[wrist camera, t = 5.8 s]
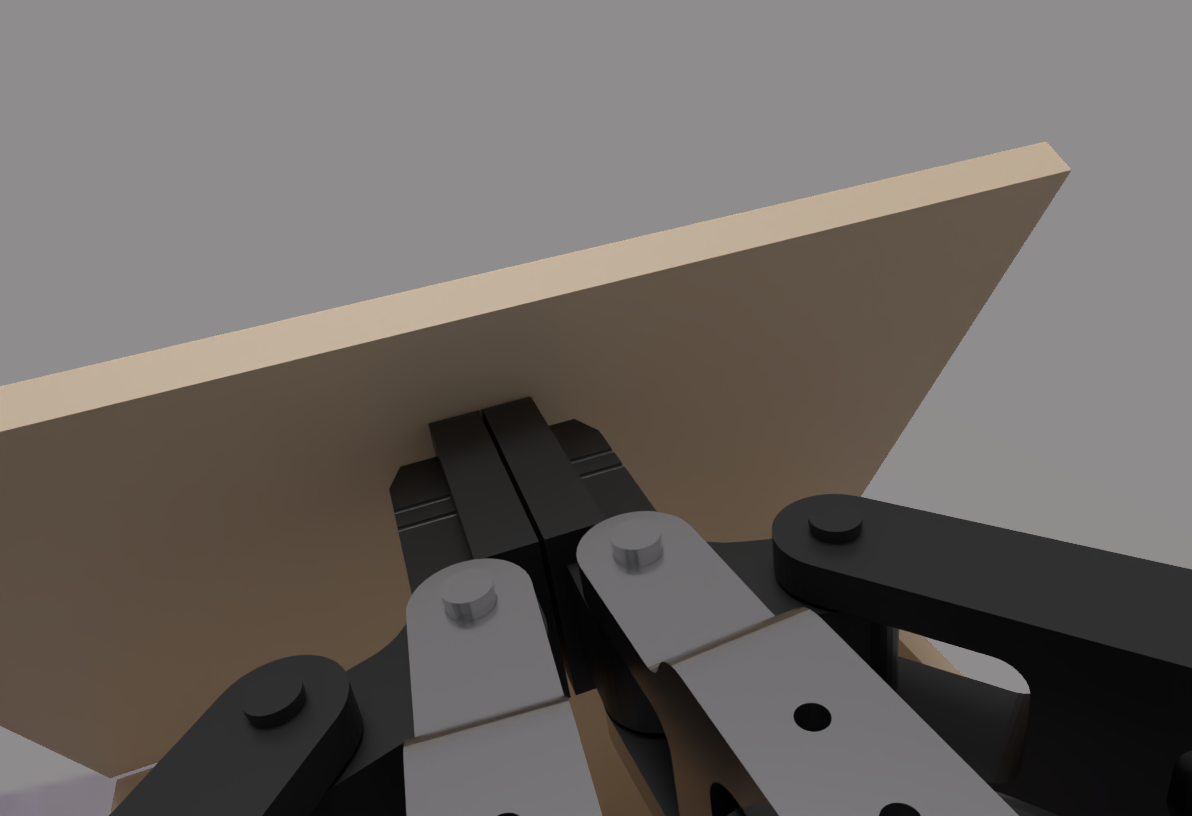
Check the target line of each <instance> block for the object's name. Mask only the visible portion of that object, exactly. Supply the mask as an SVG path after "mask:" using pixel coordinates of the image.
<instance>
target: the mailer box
mask: <svg viewBox="0 0 1192 816" xmlns="http://www.w3.org/2000/svg"><path fill="white" fill-rule="evenodd" d="M898 656H900V657H903V658H906V659H909V660H912V661H916V662H919V663H922V664H925V665H929V666H932V667H935V668H938V669H941V670H945V671H948V672H951V673H954V674H957V675H961V676H963V675H962V674H961V673H960V672H959V671H958V670H957V669H956V668H955V667H954V666H953V665H952V664H951V663H950V662H949V661H948V660H947V659H946V658H945V657H944V656H943V655H942V654H941V653H940V652H939V651H938V650H937V649H936V648H935V647H934V646H933V645H932V644H931V643H930V642H929V641H928V640H927V639H926V638H925V637H924V636H921V635H917V634H914V633H911V632H907V631H904V630H900V629H899V653H898ZM565 672H566V671H565ZM566 677H567V681H568V686H569V691H570V696H571V698H568V699H569V702H570V705H571V709H572V712H573V716H574V719H575V722H576V726H577V729H578V733H579V736H580V740H581V743H582V747H583V750H584V754H585V757H586V761H587V764H588V768H589V771H590V775H591V778H592V782H593V785H594V788H595V792H596V795H597V799H598V802H599V806H600V809H601V813H602V816H652V814H651V812H650V811H649V809H648V807H647V805H646V803H645V801H644V800H643V798H642V796H641V794H640V792H639V791H638V789H637V787H636V785H635V783H634V782H633V780H632V778H631V776H630V774H629V773H628V771H627V769H626V767H625V765H624V764H623V762H622V760H621V758H620V756H619V754H618V753H617V751H616V749H615V747H614V745H613V744H612V741H611V739H610V736H609V731H608V725H607V720H606V714H605V709H604V704H603V702H602V700H601V697H600V695H599V693H598V691H597V688H596V689H593V690H590V691H588V692H585V693H582V694H579V695H575V692H574V690H573V688H572V685H571V683H570V680H569V678H568V676H567V673H566ZM152 769H153V768H151V769H148V770H145V771H142V772H139V773H136V774H133V775H130V776H127V777H124V778H121V779H118V780H117V782H116V787H115V792H114V798H113V803H112V808H111V813H112V812H113V811H114V810H115V809H116V808H117V807H118V805H119V804H120V803H121V802H122V801H123V800H124V799H125V798H126V797H127V796H128V795H129V794H130V792H131V791H132V790H133V789H134V788H135V787H136V786H137V785H138V784H139V783H140V782H141V781H142V780H143V778H144V777H145V776H146V775H147V774H148V773H149V772H150V771H151V770H152ZM111 813H110V814H111Z"/></svg>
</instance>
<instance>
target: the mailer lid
mask: <svg viewBox="0 0 1192 816" xmlns="http://www.w3.org/2000/svg"><path fill="white" fill-rule="evenodd" d="M1070 172H1071V169H1070V168H1069V167H1068V165H1067V164H1066V163H1065V162H1064V161H1063V160H1062V159H1061V158H1060V156H1059V155H1058V154H1057V153H1056V152H1055V151H1054V150H1053V149H1052V148H1051V146H1050V145H1049V144H1048V143H1047V142H1042V143H1038V144H1033V145H1029V146H1025V147H1020V148H1016V149H1012V150H1008V151H1004V152H999V153H995V154H991V155H987V156H982V157H978V158H974V159H969V160H965V161H961V162H957V163H952V164H948V165H944V166H939V167H935V168H931V169H927V170H922V171H918V172H914V173H909V174H905V175H901V176H897V177H892V178H888V179H884V180H880V181H876V182H871V183H867V184H862V185H858V186H854V187H850V188H846V189H841V190H837V191H833V192H828V193H825V194H820V195H816V196H811V197H807V198H803V199H799V200H794V201H790V202H786V203H781V204H777V205H773V206H769V207H765V208H760V209H756V210H752V211H747V212H743V213H739V214H735V215H730V216H726V217H722V218H718V219H714V220H709V221H704V222H700V223H696V224H692V225H687V226H683V227H679V228H675V229H671V230H666V231H662V232H658V233H653V234H649V235H645V236H640V237H636V238H632V239H628V240H624V241H619V242H615V243H611V244H606V245H602V246H598V247H593V248H590V249H585V250H581V251H576V252H572V253H568V254H564V255H559V256H555V257H551V258H546V259H542V260H538V261H534V262H529V263H525V264H521V265H517V266H513V267H508V268H504V269H499V270H495V271H491V272H487V273H483V274H478V275H474V276H470V277H466V278H461V279H457V280H453V281H448V282H444V283H440V284H436V285H432V286H427V287H423V288H418V289H414V290H410V291H406V292H401V293H397V294H393V295H388V296H384V297H380V298H376V299H371V300H367V301H363V302H359V303H354V304H350V305H346V306H342V307H337V308H333V309H329V310H324V311H320V312H316V313H312V314H308V315H303V316H299V317H295V318H290V319H286V320H282V321H277V322H273V323H269V324H265V325H261V326H256V327H252V328H248V329H243V330H239V331H235V332H230V333H226V334H222V335H218V336H213V337H209V338H205V339H201V340H196V341H192V342H188V343H184V344H179V345H175V346H171V347H166V348H162V349H158V350H154V351H149V352H145V353H141V354H137V355H132V356H128V357H124V358H119V359H115V360H111V361H107V362H103V363H98V364H94V365H90V366H85V367H81V368H77V369H73V370H68V371H64V372H60V373H56V374H51V375H47V376H43V377H38V378H34V379H30V380H26V381H22V382H17V383H13V384H9V385H4V386H0V726H2V727H4V728H6V729H8V730H10V731H12V732H15V733H17V734H19V735H21V736H23V737H25V738H27V739H29V740H31V741H33V742H35V743H38V744H40V745H42V746H44V747H46V748H48V749H50V750H52V751H54V752H56V753H59V754H61V755H63V756H65V757H67V758H69V759H71V760H73V761H75V762H77V763H80V764H82V765H84V766H86V767H88V768H90V769H92V770H94V771H96V772H98V773H100V774H103V775H105V776H107V777H109V778H112V777H115V776H118V775H121V774H124V773H127V772H130V771H133V770H136V769H139V768H142V767H145V766H148V765H151V764H154V763H157V762H159V761H160V760H161V759H162V758H163V757H164V756H165V755H166V754H167V753H168V751H169V750H170V749H171V748H172V747H173V746H174V745H175V744H176V743H177V742H178V741H179V740H180V739H181V737H182V736H183V735H184V734H185V733H186V732H187V731H188V730H189V729H190V728H191V727H192V726H193V724H194V723H195V722H196V721H197V720H198V719H199V718H200V717H201V716H202V715H203V714H204V713H205V712H206V710H207V709H208V708H209V707H210V706H211V705H212V704H213V703H214V702H215V701H216V700H217V699H218V697H219V696H220V695H221V694H222V693H223V692H224V691H225V690H226V689H227V688H229V687H230V686H231V685H232V684H233V683H234V682H236V681H237V680H238V679H240V678H241V677H243V676H244V675H246V674H247V673H249V672H251V671H252V670H254V669H256V668H258V667H260V666H262V665H264V664H267V663H270V662H272V661H275V660H278V659H282V658H285V657H290V656H296V655H318V656H323V657H326V658H329V659H331V660H333V661H335V662H337V663H338V664H339V665H340V666H341V667H343V669H344V670H345V671H347V670H349V669H351V668H352V667H354V666H356V665H358V664H359V663H361V662H363V661H365V660H366V659H368V658H370V657H371V656H373V655H374V654H376V653H378V652H379V651H380V650H382V649H383V648H384V647H385V646H387V645H388V644H389V643H390V642H391V641H392V640H393V639H394V638H395V637H396V636H397V635H398V634H399V633H400V631H401V630H402V629H403V628H404V626H405V624H406V623H407V621H406V608H407V605H408V601H409V599H410V597H411V596H412V594H411V589H410V584H409V580H408V575H407V570H406V566H405V561H404V556H403V551H402V547H401V542H400V537H399V533H398V528H397V523H396V519H395V513H394V509H393V505H392V500H391V495H390V491H389V488H390V486H391V484H392V482H393V480H394V478H395V476H396V474H397V472H398V470H399V468H400V466H404V465H408V464H411V463H415V462H419V461H422V460H426V459H430V458H433V457H436V455H435V451H434V447H433V442H432V438H431V433H430V429H429V423H432V422H436V421H440V420H444V419H448V418H451V417H455V416H459V415H463V414H466V413H470V412H474V411H478V412H479V413H480V416H481V418H482V420H483V415H482V409H485V408H488V407H492V406H496V405H500V404H504V403H507V402H511V401H515V400H519V399H522V398H526V397H531V398H532V399H533V401H534V402H535V404H536V406H537V407H538V409H539V411H540V412H541V414H542V416H543V417H544V419H545V421H546V422H547V424H548V425H549V426H550V425H553V424H557V423H561V422H564V421H568V420H572V419H576V420H578V421H580V422H582V423H584V424H586V425H588V426H591V427H593V428H595V429H597V430H599V431H600V433H601V434H602V435H603V437H604V438H605V440H606V441H607V442H608V444H609V445H610V447H611V448H612V451H613V452H615V454H616V455H617V456H618V458H619V459H620V461H621V462H622V465H623V467H624V466H625V468H626V469H627V470H628V472H629V473H630V475H631V476H632V477H633V479H634V480H635V482H636V483H637V484H638V486H639V487H640V489H641V490H642V491H643V493H644V494H645V496H646V497H647V498H648V500H649V501H650V503H651V504H652V505H653V507H654V508H655V510H656V511H657V512H663V513H667V514H671V515H674V516H676V517H679V518H681V519H682V520H684V521H686V522H687V523H688V524H689V525H690V526H692V527H693V529H694V530H695V531H696V532H697V533H698V534H699V535H700V536H701V537H702V538H703V539H704V540H705V541H708V542H721V543H727V542H743V541H754V540H765V539H772V524H773V521H774V519H775V517H776V516H777V514H778V513H779V512H780V511H781V510H782V509H783V508H785V507H786V506H788V505H789V504H791V503H793V502H795V501H797V500H800V499H803V498H806V497H810V496H815V495H822V494H846V495H853V496H858V497H861V495H862V494H863V492H864V490H865V489H866V487H867V486H868V484H869V483H870V481H871V480H872V478H873V477H874V475H875V474H876V472H877V470H878V469H879V467H880V466H881V464H882V463H883V461H884V460H885V458H886V457H887V455H888V453H889V452H890V450H891V449H892V447H893V446H894V444H895V443H896V441H897V440H898V438H899V436H900V435H901V433H902V432H903V430H904V429H905V427H906V426H907V424H908V422H909V421H910V419H911V418H912V416H913V415H914V413H915V411H916V410H917V409H918V407H919V405H920V404H921V402H922V401H923V399H924V398H925V396H926V395H927V393H928V391H929V390H930V388H931V387H932V385H933V384H934V382H935V381H936V379H937V377H938V376H939V374H940V373H941V371H942V370H943V368H944V367H945V365H946V364H947V362H948V360H949V359H950V357H951V356H952V354H953V353H954V351H955V350H956V348H957V347H958V345H959V343H960V342H961V340H962V339H963V337H964V336H965V334H966V332H967V331H968V330H969V328H970V326H971V325H972V323H973V322H974V320H975V319H976V317H977V315H978V314H979V313H980V311H981V309H982V308H983V306H984V305H985V303H986V302H987V300H988V298H989V297H990V295H991V294H992V292H993V291H994V289H995V287H996V286H997V285H998V283H999V282H1000V280H1001V278H1002V277H1003V275H1004V273H1005V272H1006V271H1007V269H1008V268H1009V266H1010V265H1011V263H1012V261H1013V260H1014V258H1015V257H1016V255H1017V254H1018V252H1019V251H1020V249H1021V247H1022V246H1023V244H1024V242H1025V241H1026V240H1027V238H1028V236H1029V235H1030V234H1031V232H1032V230H1033V229H1034V227H1035V226H1036V224H1037V223H1038V221H1039V220H1040V218H1041V216H1042V215H1043V213H1044V212H1045V210H1046V209H1047V207H1048V206H1049V204H1050V203H1051V201H1052V199H1053V198H1054V196H1055V195H1056V193H1057V192H1058V190H1059V189H1060V187H1061V186H1062V184H1063V182H1064V181H1065V179H1066V178H1067V176H1068V175H1069V173H1070Z"/></svg>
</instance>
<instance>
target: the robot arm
mask: <svg viewBox="0 0 1192 816" xmlns="http://www.w3.org/2000/svg"><path fill="white" fill-rule="evenodd" d="M482 415H483V420H482V418H481V416H480V413H479V412H478V411H474V412H470V413H466V414H463V415H459V416H455V417H451V418H448V419H444V420H440V421H436V422H432V423H429V429H430V433H431V438H432V442H433V447H434V451H435V455H436V457H433V458H430V459H426V460H422V461H419V462H415V463H411V464H408V465H404V466H400V468H399V470H398V472H397V474H396V476H395V478H394V480H393V482H392V484H391V486H390V488H389V491H390V495H391V500H392V505H393V509H394V513H395V519H396V523H397V528H398V533H399V537H400V542H401V547H402V551H403V556H404V561H405V566H406V570H407V575H408V580H409V584H410V589H411V594H412V596H411V597H410V599H409V601H408V605H407V608H406V621H407V623H406V624H405V626H404V628H403V629H402V630H401V631H400V633H399V634H398V635H397V636H396V637H395V638H394V639H393V640H392V641H391V642H390V643H389V644H388V645H387V646H385V647H384V648H383V649H382V650H380V651H379V652H378V653H376V654H374V655H373V656H371V657H370V658H368V659H366V660H365V661H363V662H361V663H359V664H358V665H356V666H354V667H352V668H351V669H349V670H347V671H345V670H344V669H343V667H341V666H340V665H339V664H338V663H337V662H335V661H333V660H331V659H329V658H326V657H323V656H318V655H296V656H290V657H285V658H282V659H278V660H275V661H272V662H270V663H267V664H264V665H262V666H260V667H258V668H256V669H254V670H252V671H251V672H249V673H247V674H246V675H244V676H243V677H241V678H240V679H238V680H237V681H236V682H234V683H233V684H232V685H231V686H230V687H229V688H227V689H226V690H225V691H224V692H223V693H222V694H221V695H220V696H219V697H218V699H217V700H216V701H215V702H214V703H213V704H212V705H211V706H210V707H209V708H208V709H207V710H206V712H205V713H204V714H203V715H202V716H201V717H200V718H199V719H198V720H197V721H196V722H195V723H194V724H193V726H192V727H191V728H190V729H189V730H188V731H187V732H186V733H185V734H184V735H183V736H182V737H181V739H180V740H179V741H178V742H177V743H176V744H175V745H174V746H173V747H172V748H171V749H170V750H169V751H168V753H167V754H166V755H165V756H164V757H163V758H162V759H161V760H160V761H159V762H158V763H157V764H156V766H155V767H154V768H153V769H152V770H151V771H150V772H149V773H148V774H147V775H146V776H145V777H144V778H143V780H142V781H141V782H140V783H139V784H138V785H137V786H136V787H135V788H134V789H133V790H132V791H131V792H130V794H129V795H128V796H127V797H126V798H125V799H124V800H123V801H122V802H121V803H120V804H119V805H118V807H117V808H116V809H115V810H114V811H113V812H112V813H111V814H110V815H109V816H602V813H601V809H600V806H599V802H598V799H597V795H596V792H595V788H594V785H593V782H592V778H591V775H590V771H589V768H588V764H587V761H586V757H585V754H584V750H583V747H582V743H581V740H580V736H579V733H578V729H577V726H576V722H575V719H574V716H573V712H572V709H571V705H570V702H569V699H568V698H571V696H570V691H569V686H568V681H567V677H566V673H567V676H568V678H569V680H570V683H571V685H572V688H573V690H574V692H575V695H579V694H582V693H585V692H588V691H590V690H593V689H596V688H597V691H598V693H599V695H600V697H601V700H602V702H603V704H604V709H605V714H606V720H607V725H608V731H609V736H610V739H611V741H612V744H613V745H614V747H615V749H616V751H617V753H618V754H619V756H620V758H621V760H622V762H623V764H624V765H625V767H626V769H627V771H628V773H629V774H630V776H631V778H632V780H633V782H634V783H635V785H636V787H637V789H638V791H639V792H640V794H641V796H642V798H643V800H644V801H645V803H646V805H647V807H648V809H649V811H650V812H651V814H652V816H1192V570H1191V569H1186V568H1182V567H1177V566H1173V565H1168V564H1164V563H1159V562H1154V561H1150V560H1145V559H1141V558H1136V557H1132V556H1127V555H1122V554H1118V553H1113V552H1109V551H1104V550H1100V549H1095V548H1091V547H1086V546H1082V545H1077V544H1073V543H1068V542H1063V541H1059V540H1054V539H1049V538H1045V537H1041V536H1036V535H1031V534H1027V533H1022V532H1017V531H1013V530H1009V529H1004V528H1000V527H995V526H991V525H986V524H981V523H977V522H972V521H968V520H963V519H959V518H954V517H950V516H945V515H940V514H936V513H931V512H927V511H922V510H917V509H913V508H909V507H904V506H899V505H894V504H890V503H886V502H881V501H877V500H872V499H868V498H863V497H858V496H853V495H846V494H822V495H815V496H810V497H806V498H803V499H800V500H797V501H795V502H793V503H791V504H789V505H788V506H786V507H785V508H783V509H782V510H781V511H780V512H779V513H778V514H777V516H776V517H775V519H774V521H773V524H772V539H765V540H754V541H743V542H727V543H721V542H708V541H705V540H704V539H703V538H702V537H701V536H700V535H699V534H698V533H697V532H696V531H695V530H694V529H693V527H692V526H690V525H689V524H688V523H687V522H686V521H684V520H682V519H681V518H679V517H676V516H674V515H671V514H667V513H663V512H657V511H656V510H655V508H654V507H653V505H652V504H651V503H650V501H649V500H648V498H647V497H646V496H645V494H644V493H643V491H642V490H641V489H640V487H639V486H638V484H637V483H636V482H635V480H634V479H633V477H632V476H631V475H630V473H629V472H628V470H627V469H626V468H625V466H624V467H623V465H622V462H621V461H620V459H619V458H618V456H617V455H616V454H615V452H613V451H612V448H611V447H610V445H609V444H608V442H607V441H606V440H605V438H604V437H603V435H602V434H601V433H600V431H599V430H597V429H595V428H593V427H591V426H588V425H586V424H584V423H582V422H580V421H578V420H576V419H572V420H568V421H564V422H561V423H557V424H553V425H550V426H549V425H548V424H547V422H546V421H545V419H544V417H543V416H542V414H541V412H540V411H539V409H538V407H537V406H536V404H535V402H534V401H533V399H532V398H531V397H526V398H522V399H519V400H515V401H511V402H507V403H504V404H500V405H496V406H492V407H488V408H485V409H482ZM899 629H900V630H904V631H907V632H911V633H914V634H917V635H921V636H924V637H928V638H931V639H934V640H938V641H941V642H945V643H948V644H952V645H955V646H958V647H962V648H965V649H968V650H972V651H975V652H978V653H982V654H985V655H989V656H992V657H995V658H998V659H1000V660H1002V661H1004V662H1006V663H1008V664H1009V665H1011V666H1013V667H1014V668H1015V669H1016V670H1017V671H1018V672H1019V673H1020V674H1021V675H1022V676H1023V677H1024V679H1025V680H1026V682H1027V684H1028V686H1029V689H1030V694H1022V693H1016V692H1012V691H1009V690H1005V689H1002V688H999V687H996V686H993V685H990V684H986V683H983V682H980V681H977V680H973V679H970V678H967V677H964V676H961V675H957V674H954V673H951V672H948V671H945V670H941V669H938V668H935V667H932V666H929V665H925V664H922V663H919V662H916V661H912V660H909V659H906V658H903V657H900V656H898V653H899ZM565 671H566V672H565Z"/></svg>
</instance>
